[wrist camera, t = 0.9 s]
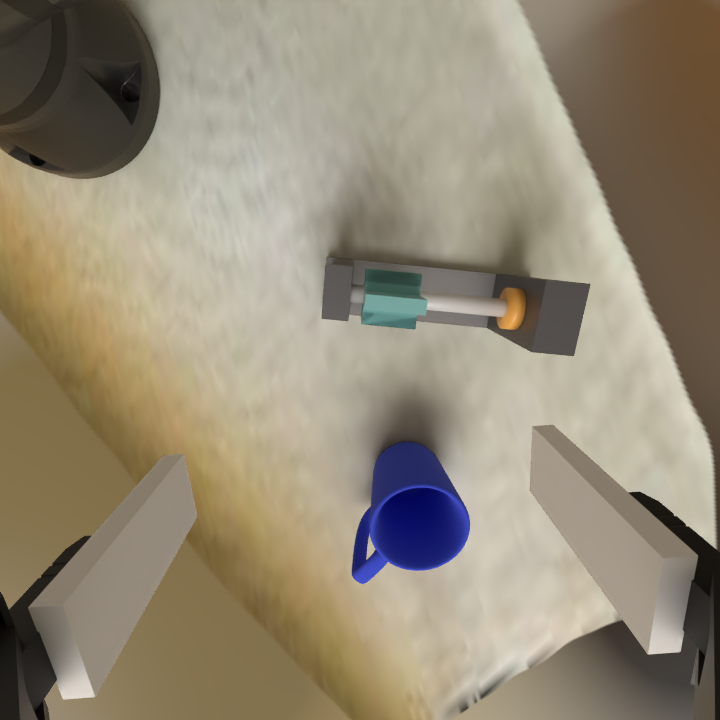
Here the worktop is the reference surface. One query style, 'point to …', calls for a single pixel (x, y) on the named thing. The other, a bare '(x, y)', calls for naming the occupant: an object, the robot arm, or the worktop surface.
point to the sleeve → (392, 298)
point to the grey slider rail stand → (474, 302)
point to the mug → (410, 514)
